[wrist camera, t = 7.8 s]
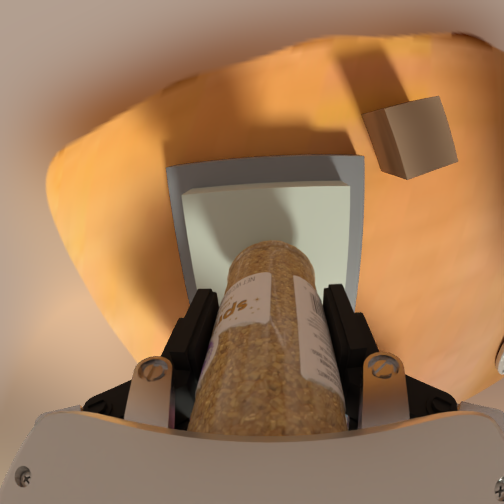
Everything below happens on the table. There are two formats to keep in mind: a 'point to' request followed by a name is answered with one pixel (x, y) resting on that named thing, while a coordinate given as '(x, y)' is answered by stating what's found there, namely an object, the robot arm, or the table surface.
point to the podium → (269, 215)
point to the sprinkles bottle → (270, 352)
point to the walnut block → (411, 137)
